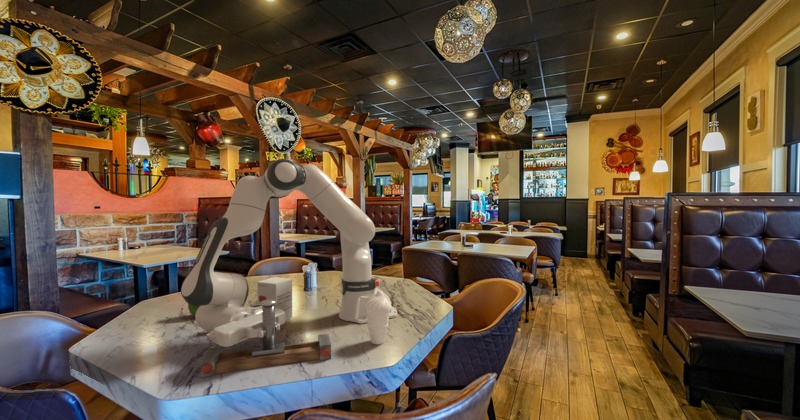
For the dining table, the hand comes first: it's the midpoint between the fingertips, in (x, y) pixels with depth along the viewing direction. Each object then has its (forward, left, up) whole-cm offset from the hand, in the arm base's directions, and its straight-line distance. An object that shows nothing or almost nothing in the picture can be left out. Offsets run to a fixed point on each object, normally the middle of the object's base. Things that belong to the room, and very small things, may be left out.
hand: (271, 330), depth 90 cm
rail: (0, -1, -9) cm, 9 cm away
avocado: (+29, -48, -9) cm, 57 cm away
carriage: (+1, -1, -7) cm, 7 cm away
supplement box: (+1, -35, -9) cm, 36 cm away
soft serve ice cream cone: (-31, -4, -9) cm, 32 cm away
